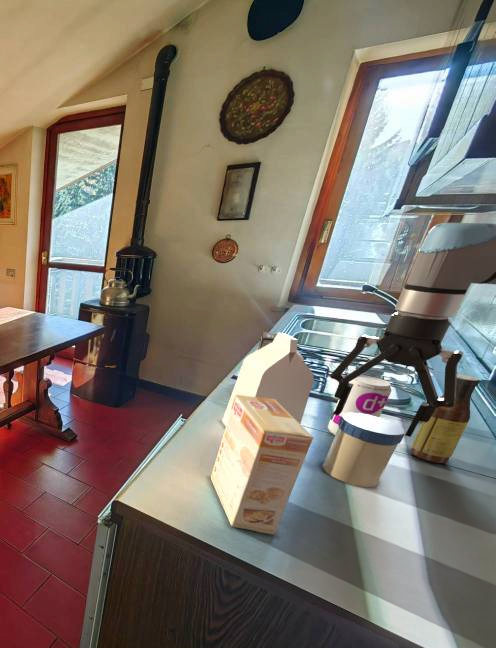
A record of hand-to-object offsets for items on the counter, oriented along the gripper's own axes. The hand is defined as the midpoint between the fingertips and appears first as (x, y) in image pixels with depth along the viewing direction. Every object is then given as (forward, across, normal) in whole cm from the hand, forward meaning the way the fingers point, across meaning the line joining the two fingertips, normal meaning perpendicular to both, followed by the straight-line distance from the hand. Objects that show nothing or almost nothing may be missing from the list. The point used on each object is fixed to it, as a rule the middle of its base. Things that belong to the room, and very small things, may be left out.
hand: (371, 423), depth 79 cm
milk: (+13, +19, -2) cm, 23 cm away
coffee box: (+13, +33, -44) cm, 57 cm away
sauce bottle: (+13, -9, -24) cm, 29 cm away
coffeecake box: (+13, +10, +30) cm, 34 cm away
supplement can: (+13, +5, -22) cm, 26 cm away
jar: (+12, 0, 0) cm, 12 cm away
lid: (0, 0, 0) cm, 0 cm away
